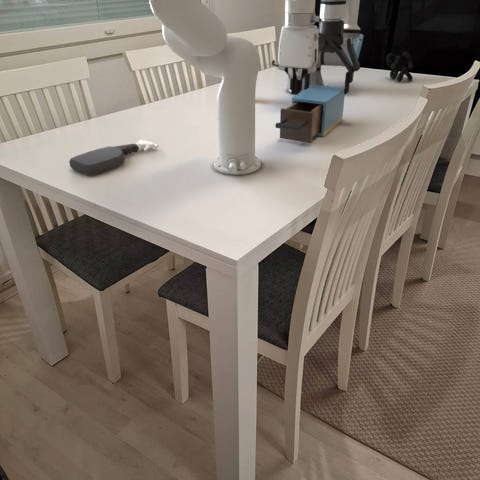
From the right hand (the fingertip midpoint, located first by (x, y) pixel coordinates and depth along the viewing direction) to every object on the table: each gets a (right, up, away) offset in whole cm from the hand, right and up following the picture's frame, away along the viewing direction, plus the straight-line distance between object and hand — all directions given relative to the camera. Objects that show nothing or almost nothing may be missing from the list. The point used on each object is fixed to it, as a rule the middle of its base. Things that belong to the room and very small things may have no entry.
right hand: (326, 91), depth 147 cm
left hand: (-13, -8, -22) cm, 27 cm away
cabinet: (-3, -11, +1) cm, 12 cm away
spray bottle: (-63, -27, -22) cm, 72 cm away
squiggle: (+44, +23, +53) cm, 73 cm away
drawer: (-9, -17, -10) cm, 21 cm away
